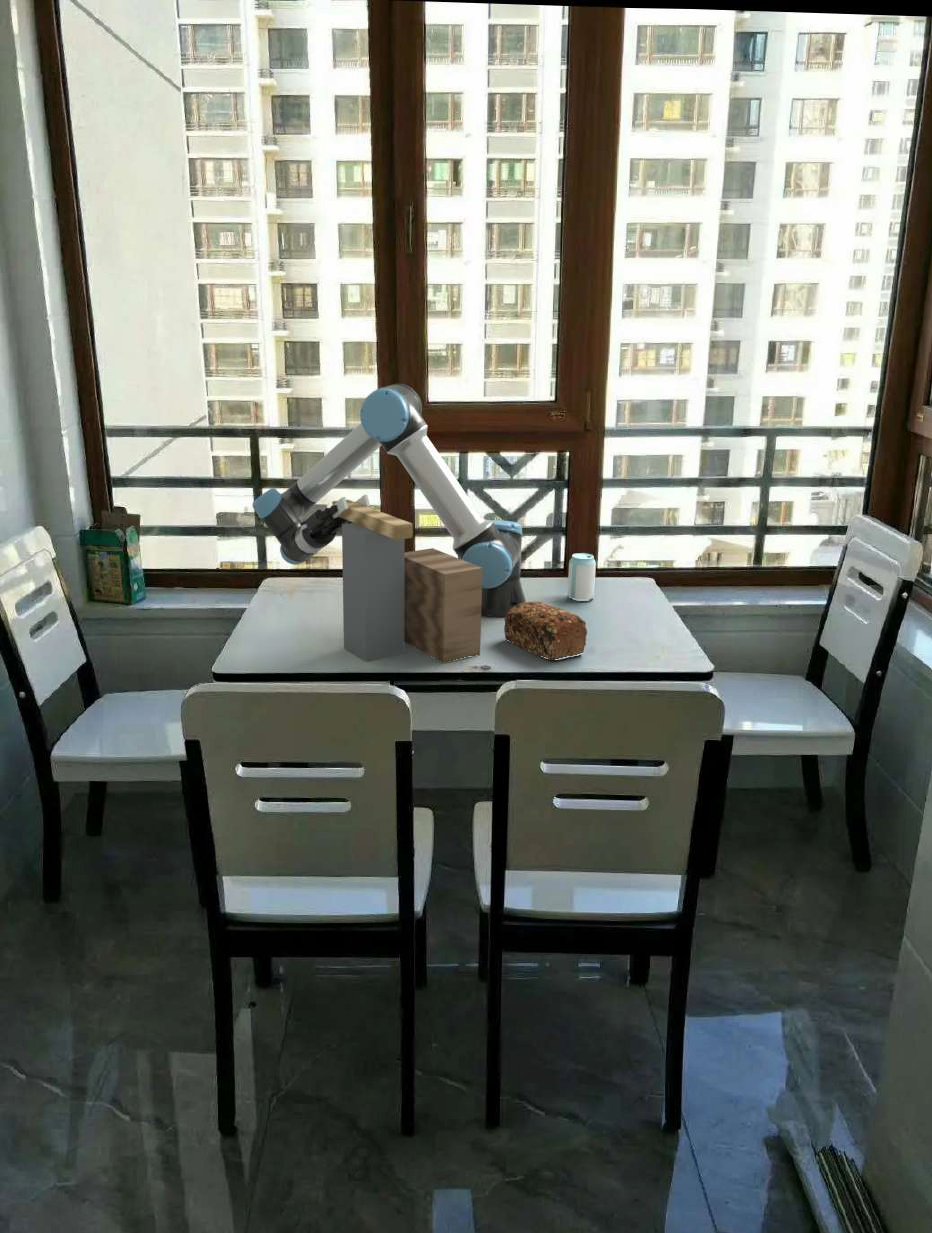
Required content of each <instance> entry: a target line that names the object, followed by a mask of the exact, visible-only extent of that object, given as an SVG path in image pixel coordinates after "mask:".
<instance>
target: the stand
mask: <svg viewBox="0 0 932 1233" xmlns="http://www.w3.org/2000/svg"><path fill="white" fill-rule="evenodd" d="M405 540H406V539H400V540H395V539H393V538H390V537H388V536H385V535H383V534H380V533H378V532H375V531H373V530H370V529H368V528H365V527H363V526H360V525H358V524H355V523H349V524H342V528H341V545H342V546H341V552H342V560H341V562H342V607H343V608H342V609H343V611H342V613H343V616H342V617H343V619H342V622H343V649H345V650H346V651H348V652H350V653H351V654H353V655H354V656H356V657H357V658H359V659H361V660H362V661H364V662H369V661H373V660H379V659H385V658H388V657H393V656H398V655H404V654H405V642H404V560H405V552H406V551H405V550H406V549H405V548H406V547H405V544H406V543H405Z"/></svg>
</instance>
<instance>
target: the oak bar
mask: <svg viewBox="0 0 932 1233" xmlns="http://www.w3.org/2000/svg"><path fill="white" fill-rule="evenodd" d="M337 501H338V500H333V501H332V503H331V504H332V505H333V504H335V503H336V502H337ZM346 502H347V506H348V509H347V510H346V511H344V512H343V513H342V514H341V515H339V516H338V517H341V518H343V519H346V520H348V521H351V522H353V523H355V524H358V525H360V526H363V527H365V528H368V529H370V530H373V531H375V532H378V533H380V534H383V535H385V536H388V537H390V538H393V539H395V540H400V539H405V540H406V539H412V538H413V533H414V532H413V530H414V529H413V527H414V524H413V523H412V522H409V521H407V520H404V519H401V518H398V517H396V516H393V515H391V514H388V513H385V512H384V511H383V512H382V511H379V510H377V509H374V508H372V507H370V506H369V507H366V506H364V505H361V504H358V503H356V501H352V500H349V499H346ZM332 505H331V506H332Z"/></svg>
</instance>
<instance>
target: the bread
mask: <svg viewBox="0 0 932 1233" xmlns="http://www.w3.org/2000/svg"><path fill="white" fill-rule="evenodd" d="M586 625H587V624H586V620H583V618H581V617H580V616H579V615H577V614H576V613H572V612H570V611H567V610H565V609H563V608H560V607H556V606H552V605H550V604H547V603H545V602H541V601H526V602H523V603H520V604H517V605H516V606H514V608H512V609H510V610H509V611H508V612H507V614H506V615H505V617H504V627H503V629H504V632H503V633H504V637H505V639H507V640H509V641H511V642H510V643H512V642H513V643H514V644H513V643H512V644H513V645H515V644H517V645H516V646H518V647H519V646H520V647H523V648H525V649H527V650H526V651H528V650H529V651H531V652H533V653H532V654H535V655H536V654H537V655H536V656H538V655H539V656H538V657H540V656H543V657H546V658H548V659H547V660H549V659H550V660H555V659H559V658H563V657H567V656H573V655H577V654H580V653H583V654H584V651H585V646H586V645H587V644H586V642H587V635H588V629H587V626H586ZM507 640H506V641H507ZM509 641H508V642H509ZM520 647H519V648H520ZM523 648H522V649H523ZM525 649H524V650H525ZM529 651H528V652H529ZM531 652H530V653H531ZM550 660H549V661H550Z"/></svg>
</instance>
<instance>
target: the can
mask: <svg viewBox="0 0 932 1233" xmlns="http://www.w3.org/2000/svg"><path fill="white" fill-rule="evenodd" d="M594 557H595V556H594V555H593V554H590V553H585V552H581V553H573V554H572V555H571V558H570V559H569V561H568V578H567V580H568V581H567V595H568V596H569V597H571V598H575V599H588V598H591V597H593V596H595V581H596V580H595V579H596V566H597V562H596V560H595V558H594ZM568 596H567V597H568ZM569 597H568V598H569Z"/></svg>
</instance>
